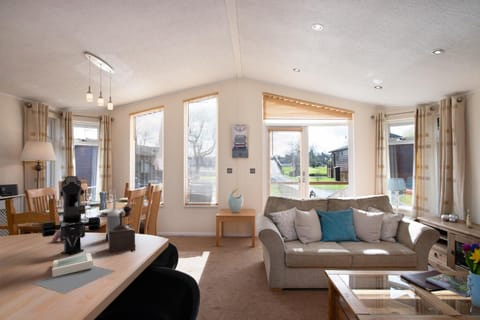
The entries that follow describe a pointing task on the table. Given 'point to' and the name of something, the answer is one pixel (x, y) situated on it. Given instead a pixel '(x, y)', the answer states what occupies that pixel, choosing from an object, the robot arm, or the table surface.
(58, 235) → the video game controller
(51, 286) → the mat
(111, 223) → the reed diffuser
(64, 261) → the picture frame
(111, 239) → the coffee grinder
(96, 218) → the robot arm
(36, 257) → the table surface
